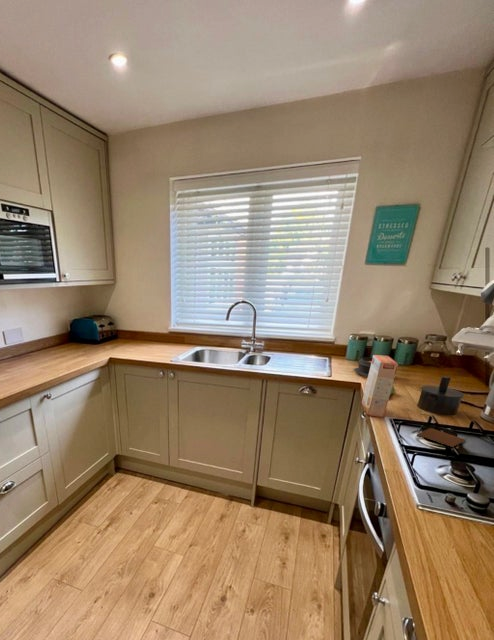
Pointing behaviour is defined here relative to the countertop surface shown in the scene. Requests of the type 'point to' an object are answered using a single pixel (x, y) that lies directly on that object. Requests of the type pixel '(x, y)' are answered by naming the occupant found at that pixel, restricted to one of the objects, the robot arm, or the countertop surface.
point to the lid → (443, 389)
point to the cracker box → (379, 385)
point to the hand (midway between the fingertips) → (471, 357)
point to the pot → (438, 404)
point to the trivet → (441, 437)
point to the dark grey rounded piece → (364, 366)
